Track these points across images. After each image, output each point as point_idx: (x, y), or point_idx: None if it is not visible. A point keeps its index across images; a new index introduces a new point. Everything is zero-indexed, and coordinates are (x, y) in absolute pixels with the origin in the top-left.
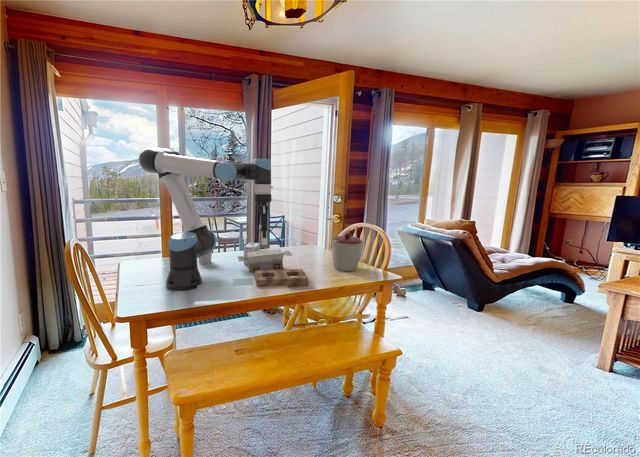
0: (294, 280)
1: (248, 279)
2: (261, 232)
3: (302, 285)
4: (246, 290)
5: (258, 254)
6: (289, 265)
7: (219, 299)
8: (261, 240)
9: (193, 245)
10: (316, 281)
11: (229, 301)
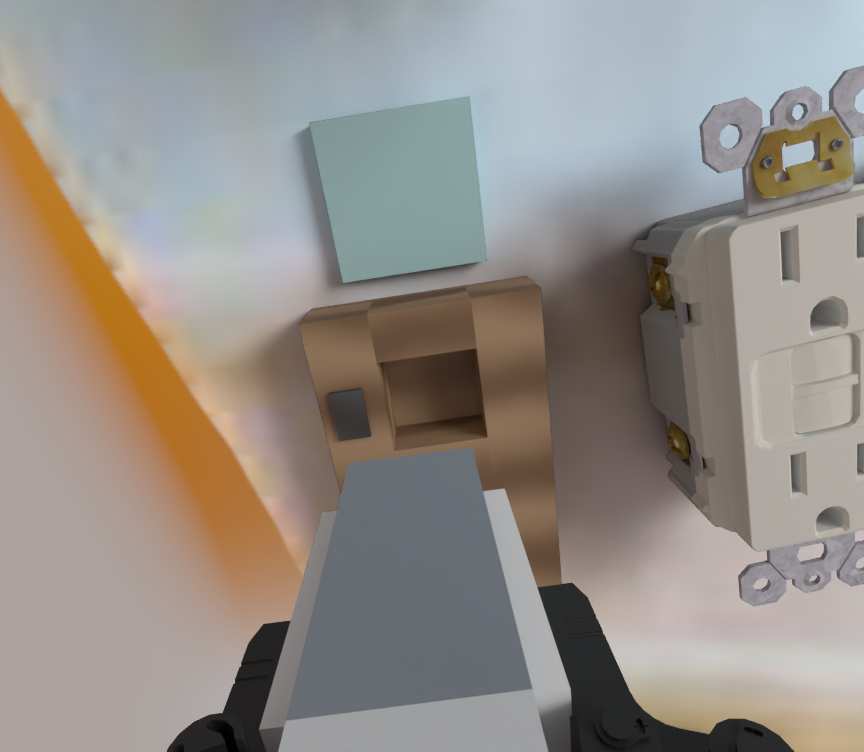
0: None
1: (455, 236)
2: (269, 699)
3: None
4: (267, 241)
5: (789, 324)
6: None
7: (58, 55)
8: (309, 561)
9: None
10: None
11: (42, 144)
